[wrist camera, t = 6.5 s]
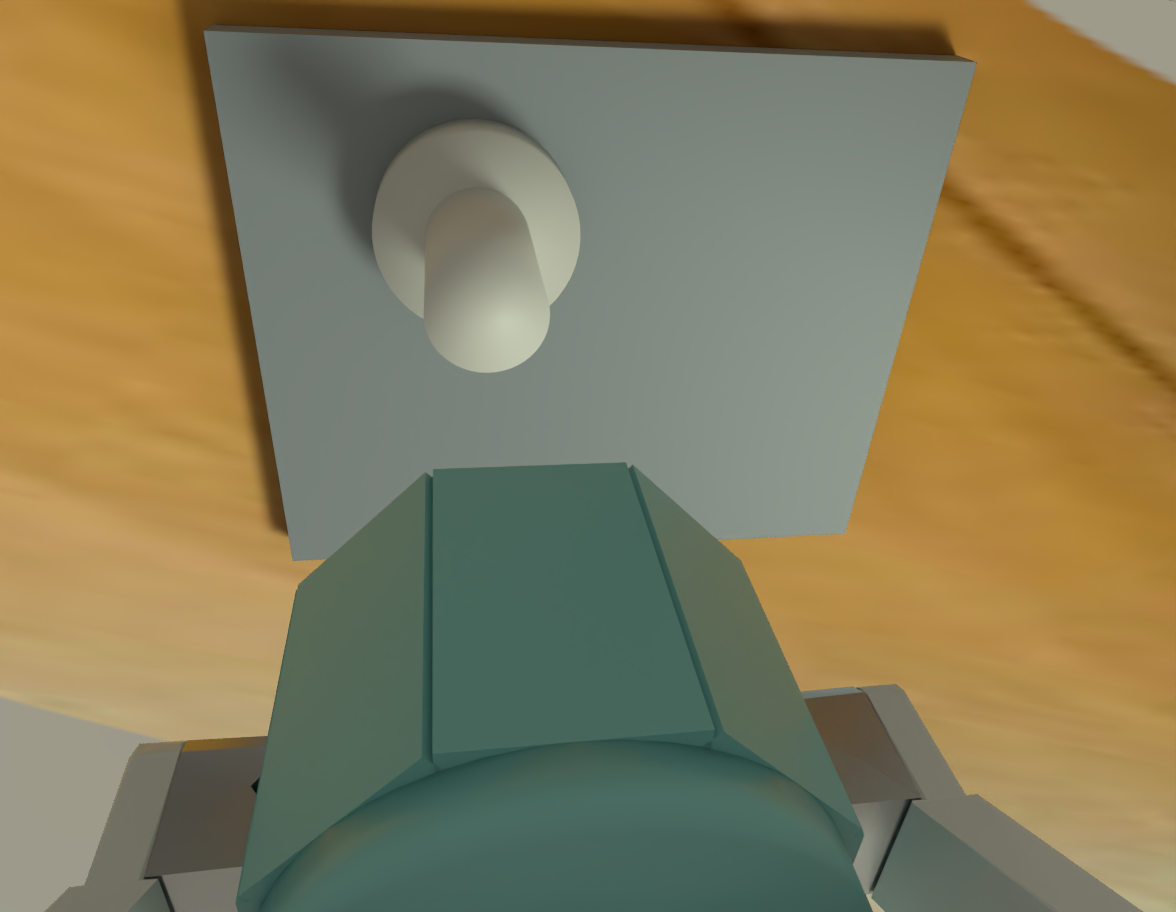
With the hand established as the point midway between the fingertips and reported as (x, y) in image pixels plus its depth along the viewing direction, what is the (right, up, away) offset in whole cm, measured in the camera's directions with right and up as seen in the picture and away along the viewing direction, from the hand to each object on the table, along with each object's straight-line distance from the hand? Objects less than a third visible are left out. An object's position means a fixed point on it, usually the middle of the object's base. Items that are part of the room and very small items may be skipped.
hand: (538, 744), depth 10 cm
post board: (+1, +8, +20) cm, 21 cm away
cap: (0, +1, +1) cm, 2 cm away
